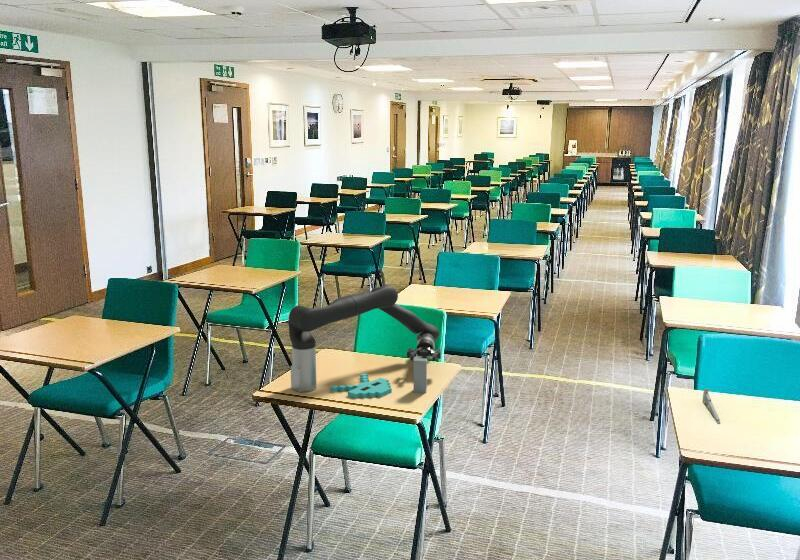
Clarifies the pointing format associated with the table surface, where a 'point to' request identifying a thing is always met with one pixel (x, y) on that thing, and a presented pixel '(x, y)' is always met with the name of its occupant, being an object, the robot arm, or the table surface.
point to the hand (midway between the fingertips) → (422, 359)
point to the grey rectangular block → (420, 375)
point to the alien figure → (366, 388)
